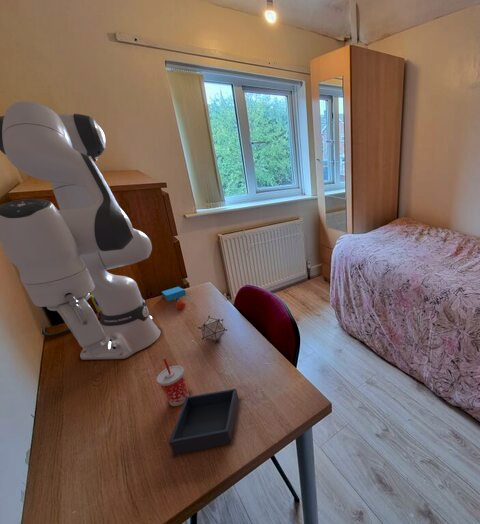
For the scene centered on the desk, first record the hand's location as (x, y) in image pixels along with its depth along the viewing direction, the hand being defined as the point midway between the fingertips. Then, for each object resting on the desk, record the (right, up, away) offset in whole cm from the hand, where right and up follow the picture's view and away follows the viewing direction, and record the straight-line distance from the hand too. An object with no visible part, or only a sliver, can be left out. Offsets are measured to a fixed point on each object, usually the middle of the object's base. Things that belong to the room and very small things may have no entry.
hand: (91, 344), depth 60 cm
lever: (-21, 0, +64) cm, 67 cm away
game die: (+7, -10, +41) cm, 43 cm away
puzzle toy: (-39, -4, +56) cm, 68 cm away
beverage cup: (+8, -20, +18) cm, 28 cm away
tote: (+20, -23, +11) cm, 32 cm away
